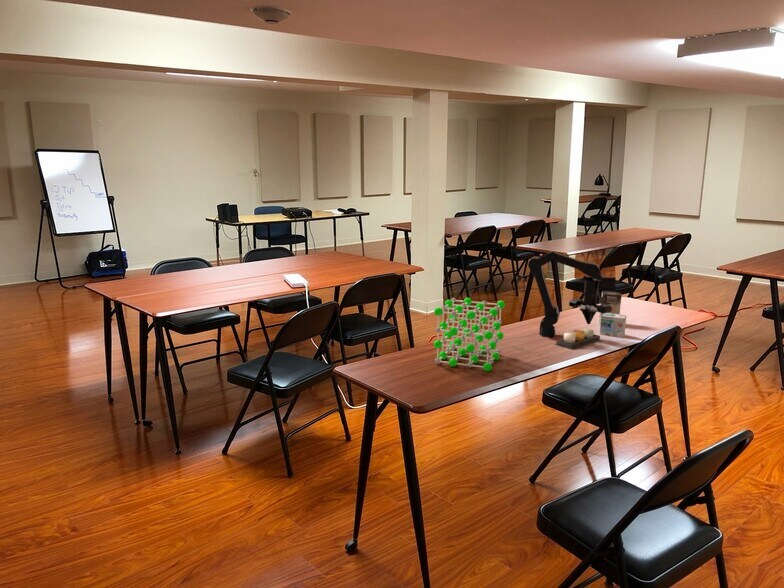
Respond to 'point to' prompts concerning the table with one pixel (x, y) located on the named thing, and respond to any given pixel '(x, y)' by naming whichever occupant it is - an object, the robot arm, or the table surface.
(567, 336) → the ivory button
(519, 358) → the table surface
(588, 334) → the sage button
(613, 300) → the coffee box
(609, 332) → the light bulb box
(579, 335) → the amber button
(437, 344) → the molecular structure model
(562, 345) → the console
